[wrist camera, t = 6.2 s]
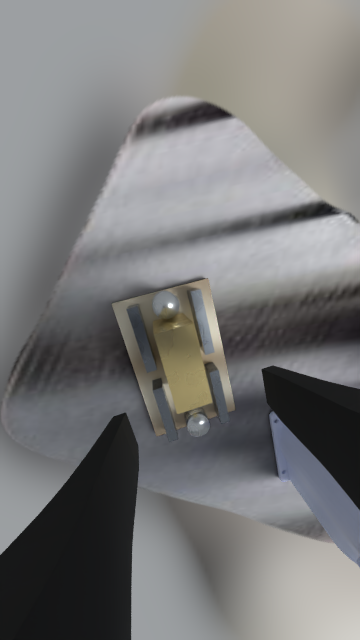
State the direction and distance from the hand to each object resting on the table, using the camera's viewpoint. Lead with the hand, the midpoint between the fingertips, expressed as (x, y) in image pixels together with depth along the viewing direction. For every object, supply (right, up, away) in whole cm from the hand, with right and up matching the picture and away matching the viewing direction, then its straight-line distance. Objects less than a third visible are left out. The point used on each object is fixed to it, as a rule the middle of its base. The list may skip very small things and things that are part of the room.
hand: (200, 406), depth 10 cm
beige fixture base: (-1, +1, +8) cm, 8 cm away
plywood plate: (-1, +1, +8) cm, 8 cm away
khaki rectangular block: (-1, +2, +7) cm, 7 cm away
